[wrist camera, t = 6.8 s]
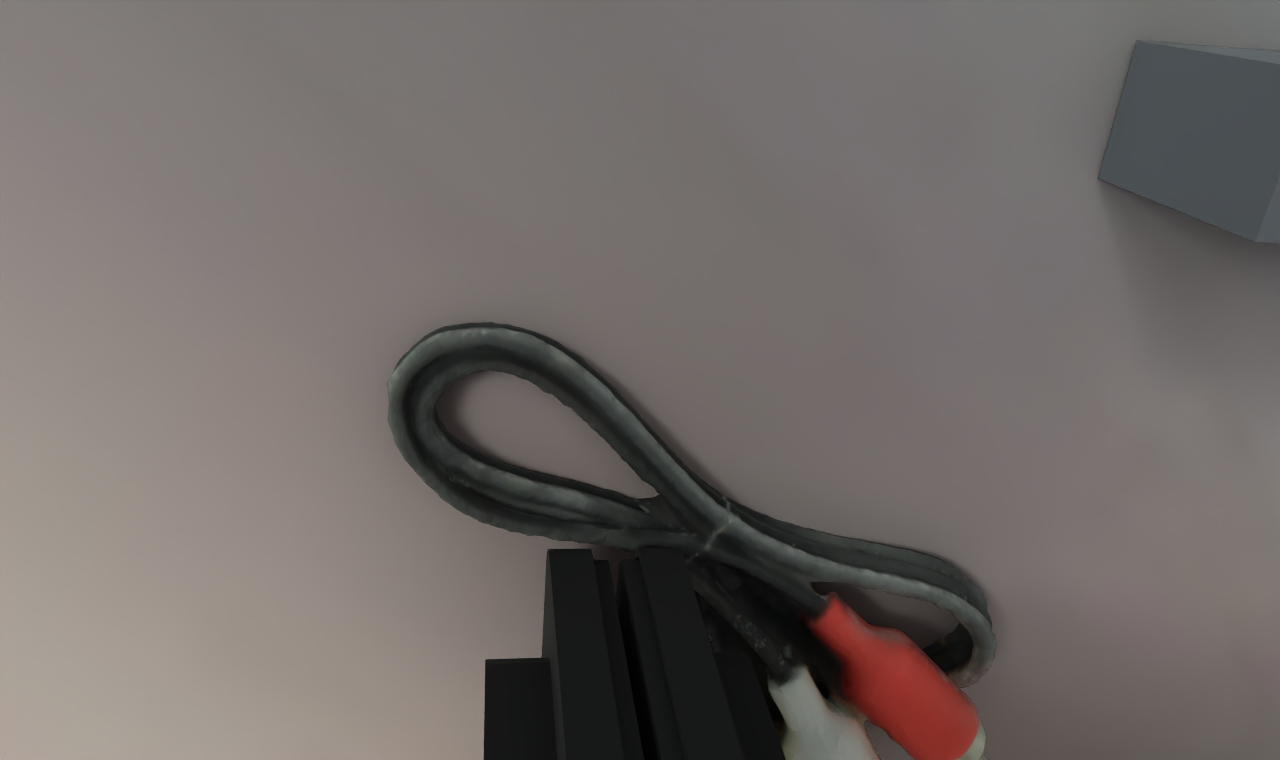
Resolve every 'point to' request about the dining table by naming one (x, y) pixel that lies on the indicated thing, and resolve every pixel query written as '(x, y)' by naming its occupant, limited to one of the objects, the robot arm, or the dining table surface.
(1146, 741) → the dining table surface
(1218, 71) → the dock
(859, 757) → the composite cable
